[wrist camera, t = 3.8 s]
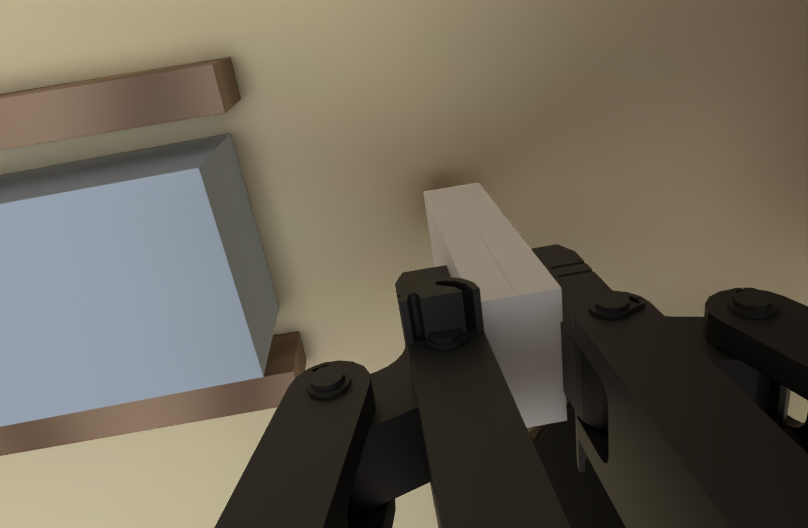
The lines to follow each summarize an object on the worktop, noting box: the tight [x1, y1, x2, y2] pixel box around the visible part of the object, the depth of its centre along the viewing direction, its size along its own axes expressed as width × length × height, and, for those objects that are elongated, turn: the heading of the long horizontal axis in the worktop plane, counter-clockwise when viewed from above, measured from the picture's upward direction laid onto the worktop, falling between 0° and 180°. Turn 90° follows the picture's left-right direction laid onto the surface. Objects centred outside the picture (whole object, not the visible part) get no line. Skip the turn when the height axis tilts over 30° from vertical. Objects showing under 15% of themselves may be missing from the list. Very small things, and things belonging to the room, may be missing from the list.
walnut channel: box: [0, 57, 306, 456], centre depth 18 cm, size 16×10×2 cm, turn 98°
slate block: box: [0, 133, 279, 427], centre depth 17 cm, size 9×6×4 cm, turn 99°
